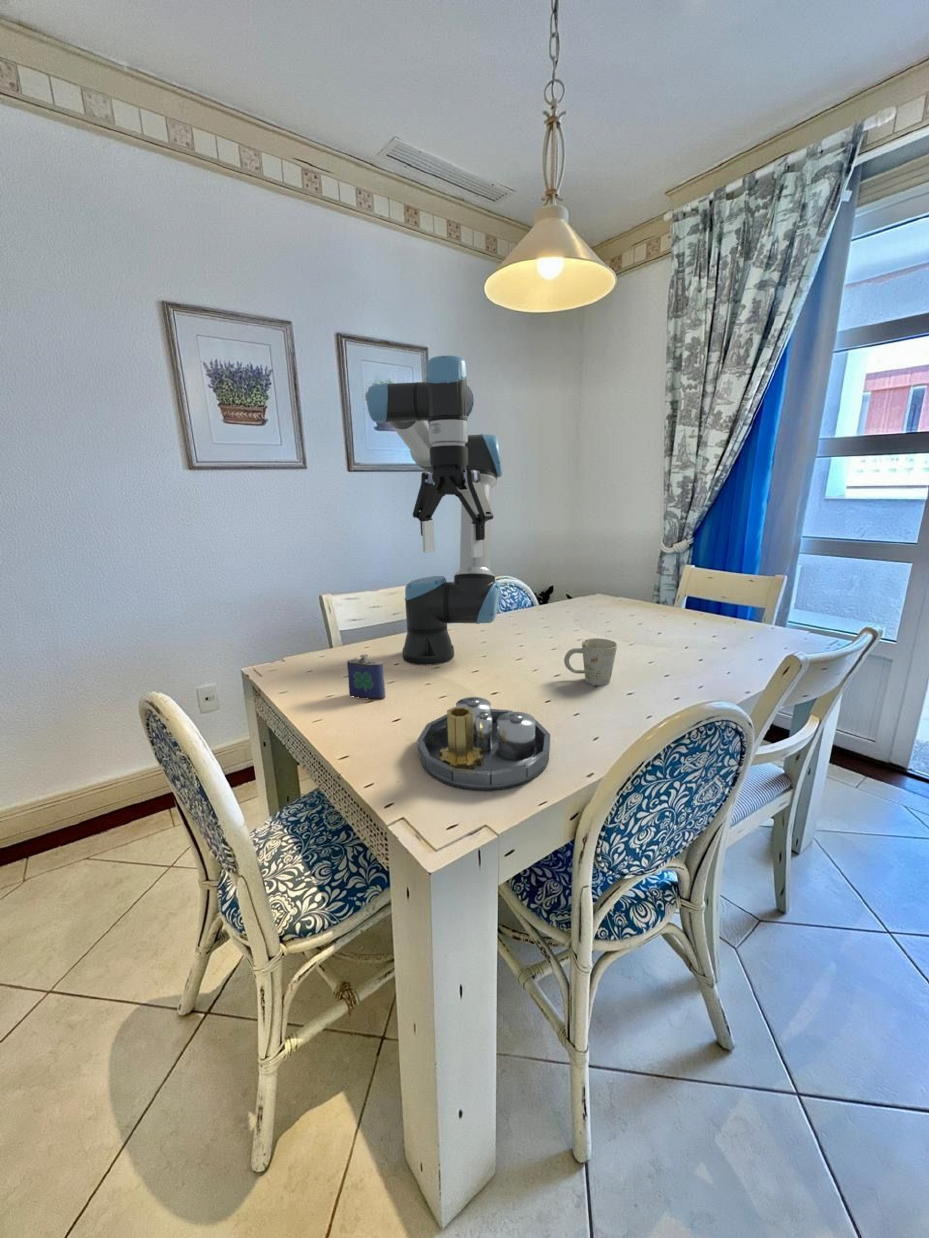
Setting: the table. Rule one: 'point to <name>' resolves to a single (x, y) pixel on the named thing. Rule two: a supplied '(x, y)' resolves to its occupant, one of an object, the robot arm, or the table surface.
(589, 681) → the mug
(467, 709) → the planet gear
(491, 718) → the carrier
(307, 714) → the table surface
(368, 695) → the flask
